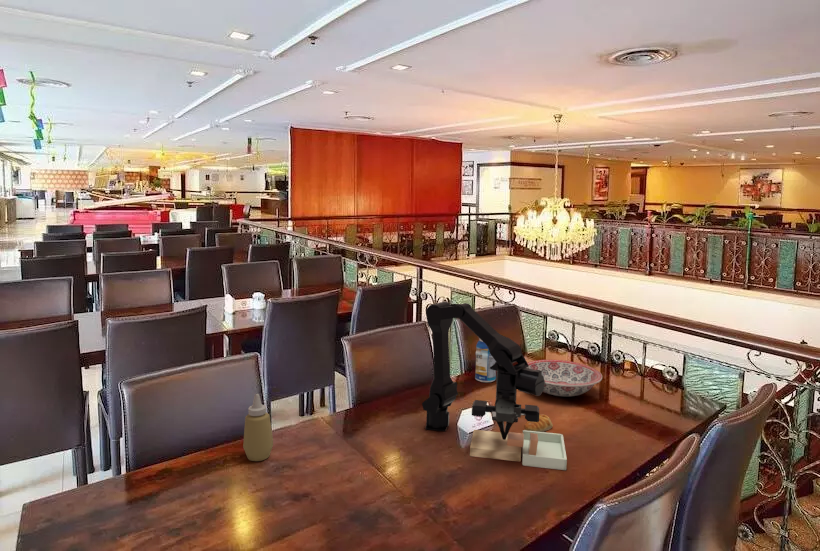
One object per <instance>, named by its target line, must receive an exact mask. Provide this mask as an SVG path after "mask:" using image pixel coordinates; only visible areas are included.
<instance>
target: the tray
mask: <svg viewBox="0 0 820 551" xmlns="http://www.w3.org/2000/svg"><path fill="white" fill-rule="evenodd" d="M522 433H523V434H524V444H523V447H522V452H521V457H522V458H521V460H522V462H521V464H522V466H525V467H534V468H540V469H541V468H542V469H549V470H550V469H552V470H559V471H560V470H562V471H567V463H568V459H567V453H566V446H565V441H564V440H565V438H564V434H563V433H555V432H554V433H553V432H546V431H544V432H536V431H526V430H525V429H524V430H523V429H522ZM530 433H534V434H538V445H537V452H536V455H529V450H528V447H529V440H530Z"/></svg>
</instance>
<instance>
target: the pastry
mask: <svg viewBox="0 0 820 551" xmlns="http://www.w3.org/2000/svg"><path fill="white" fill-rule="evenodd" d="M526 421H527V420H526ZM552 428H553V423H552V421H551V418H550V417H549V416H548V415H546V414H540V413H539V422H530V421H527V422H526V423H525V425H524V430H526V431H536V432H546V431H549V430H551V429H552Z"/></svg>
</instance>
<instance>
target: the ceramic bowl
mask: <svg viewBox="0 0 820 551" xmlns="http://www.w3.org/2000/svg"><path fill="white" fill-rule="evenodd" d="M527 363H528V365H529V367H527V368H529V369H533V370H541V371H542V376H543V377H544V381H545V386H544V390H543V392H542V393H545V394H548V395H553V396H555V397H575V396H580V395H583V394H584V393H586V392H589V391H590V390H591V389H592V388H593V387H594V386H595V385H596V384H599V383H600V382H601V381H602V380H603V375H602V373H601V372H600V371H599V370H597V369H596V368H594V367H592V366H589V365H586V364H584V363H580V362H576V361H575V362H574V361H570V360H563V359H537V360H532V361H529V362H527Z"/></svg>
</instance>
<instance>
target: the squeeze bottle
mask: <svg viewBox="0 0 820 551" xmlns="http://www.w3.org/2000/svg"><path fill="white" fill-rule="evenodd" d="M243 432H244V433H243V445H242V448H243V450H244V453H245V455H246V457H247V459H248V461H252V462H261V461H264V460H266V459H268V458H269V457H270V454H271V452H272V450H273V446H274V440H273V438H274V437H273V432H272V424H271V417H270V414H269V413H268V412H267V406H266V405H265V404H262V401H261V396H260V394H259V393H254V397H253V402H252V405H249V407H248V414H247V415H246V416H245V417H244V430H243Z"/></svg>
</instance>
